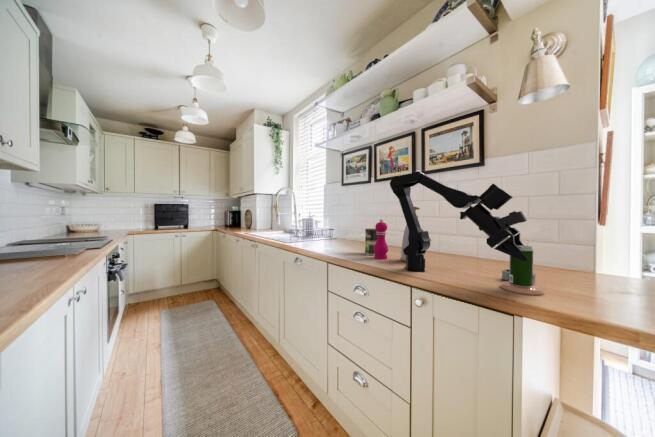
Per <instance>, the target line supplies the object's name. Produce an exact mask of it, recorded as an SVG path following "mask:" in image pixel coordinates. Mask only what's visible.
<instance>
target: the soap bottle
mask: <svg viewBox="0 0 655 437" xmlns="http://www.w3.org/2000/svg"><path fill="white" fill-rule="evenodd" d="M414 209H415V212H416V211H417V210H418V211H419V210H420V209H421V208H420V207H417V206H414ZM417 218H418V219H419V216H418V215H417ZM408 235H409V229H408V226H407V224H405V228H404V231H403V236H402V241H401V252H400V254H401V255H400V261H401V262H404V263H406V255H404V252H403V249H404V248H405V247H406V246H408V245H409V241H408ZM423 255H424V256H425V254H423Z"/></svg>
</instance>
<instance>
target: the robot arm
mask: <svg viewBox="0 0 655 437" xmlns="http://www.w3.org/2000/svg"><path fill="white" fill-rule="evenodd" d="M418 184H420V185H421V186H424V187H425V188H427V189H429V190H431V191H432V192H435V193H437V194H438V195H439V196H441V197H442V198H444V200H446V201H447V202H448V203H449V204H450V205H452V206H453V207H454V208H456V209H463V210H464V209H466V210H464V211H459V213H460V217H459V220H465V219H467V218H468V219H469V220H470V221H471V222H472V223H473V224H474V225H475V226H477V229H478V230H479V232H483V233H485V235H486V236H487V238H486V244H487V246H488V247H490V248H491V249H493V250H497V251H498V252H501V253H503V254H506V255H508V256H509V257H510V256H513V257H515V258H517V259H520V260H522V261H526V260H528V258H527V257H526V256H525V255H524V254H523V252H522V251H521V250H520V249H519V248H518V246H517V245H523V246H525V245H524V243H523V242H522V240H521V232H520V231H519V230H518V229H517V228H516V227H512V226H514V225H517V224H520V223H525V222H527V221H528V220H527V218H526V216H525V214H524V213H523V211H515V210H514V211H511V212H509V213H508V215H505V216H503V217H500V216H496V215H494V214H493V213H492V212H491V211H492V210H496V211H498V210H499V209H501V208H502V207H503V206H504V205H506V204H507V203H508V202H509V201H510V200H512V199H513V198H514V196H513V195H511V194H510V193H509V192H507V191H506V190H505V189H502V188H501V187H499V186H498V185H497V184H495V183H491V185H490V186H489V187H488V188H487V189H486V190H485V191H484V192H482V194H480V195H478V194H474V195H472V194H471V193H469V192H466V191H463V190H459V189H456V188H452V187H449V186H448V185H446V184H444V183H443V182H440V181H438V180H436V179H435V178H433V177H431V176H429V175H426V174H425V173H424V172H421V171H415V172H411V173H408V174H404V175H400V176H397V175H396V176H393V177H392V178H391V180H390V181H389V187H390V189H391V191H392V192H393V194H394V195H395V196H396V198H397V199H398V201H399V205H400V207H401V210H402V214H403V217H404V219H405V223H406V225H407V226H408V229H409V235H408V241H409V245H408V246H406V247H405V248H404V249H403V252H404V255H406V262H405V266H404V268H405V269H406V270H407V271H409V272H426V258H425V254H426V252H427V250H428V249H429V248H430V247H431V242H432V239H431V238H430V235H429V234H430V233H429V231H428V230H426V231H425V230H423V229H422V227H421V224H420V222H419V217H418V218H417V216H418V215H417V213H416V212H415V209H414V207H415V205H414V204H413V201H412V198H411V190H412V188H411V187H414V186H416V185H418ZM473 205H474V206H473ZM423 254H424V255H423Z"/></svg>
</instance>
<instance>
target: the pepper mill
mask: <svg viewBox="0 0 655 437" xmlns="http://www.w3.org/2000/svg"><path fill="white" fill-rule="evenodd" d="M374 229H376V230H377V232H376V234H377V242H376V244H375V246H374V252H375V253H376V254H375V256H374V259H376V260H377V259H378V260H386V259H388V254H387V253H389V247H388V244H387V242H386V235H387V230H388V224H387V223H386V222H384V220H383V219H382V218H380V219H379V222H376V224H375V226H374Z"/></svg>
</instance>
